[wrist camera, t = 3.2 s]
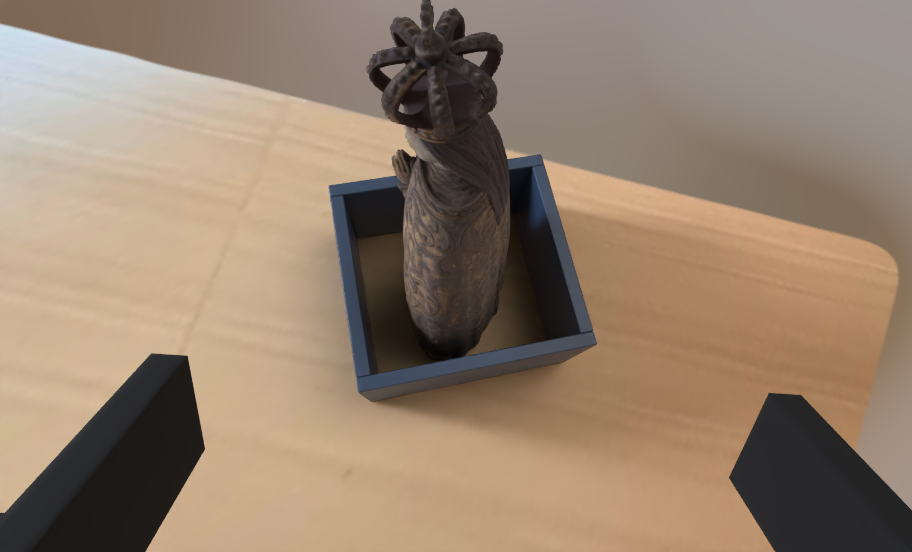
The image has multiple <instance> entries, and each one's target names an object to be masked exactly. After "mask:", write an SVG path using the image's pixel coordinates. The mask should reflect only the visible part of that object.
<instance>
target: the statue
mask: <svg viewBox="0 0 912 552" xmlns="http://www.w3.org/2000/svg"><path fill="white" fill-rule="evenodd" d="M433 18H434V12H433V6H432V5H431V2H430V0H422V4H421V13H420V19H421V21H422V28H421V29H420V28H419V27H418V26H417V25H416V24H415V22H414V21H412V20H411V19H410V18H407V17H403V18H399V17H397V18H395V19H394V20H393V23H392V24H391V26H390V30H391V35H392V37H393V40H394V42H395V45H396V47H393V48H391V49H386V50H381V51H379V52H377V53H376V54H373V57H372V58H371V59H370V61H369V65H368V66H367V67H366V70H367V73H368V74H369V78H370V80H371V82H373V84H374V85H375V86H376V87H377V88H378V89H379V90H381V91H382V92H383V95H382V98H381V106H382V108H383V110H384V111H385V116H386V117H387V118H388V119H390V120H391V121H392V122H396V123H397V124H401V125H402V124H403V125H405V137H406V138H407V141H408V143H409V145H410V147H411V148H413V149H414V150H415V153H416V157H411V156H410V155H409V154H407V153H406V152H405V151H404V150H397V152H396V155H394V156H392V165H393V167H394V171H395V174H396V176H397V177H398V179H399V180H400V181H401V182H399V183H398V188H399V189H400V191H402V192H403V195H404V197H405V207H404V222H403V243H404V282H405V292H406V300H407V303H408V304H407V305H408V308H409V312H410V316H411V319H412V323H413V328H414V330H415V335H416V338H417V340H418V342H419V344H420V346H421V348H423V349H425V350H427V351H428V352H429V353H430V354H431V356H432V357H433V358H434V359H436V360H440V361H445V360H449V359H455V358H460V357H464V356H465V355H466V353H467V352H468V351H469V350H470V349H472V348H474V347H475V346H476V345H477V344H478V342H479V340H480V337H481V334H482V332H483V331H484V330H485V329H486V327H487V326H488V324H489V322H490V320H491V318H492V316H494V315H495V314H496V313H497V309H498V304H499V297H500V291H501V288H502V283H503V278H504V272H505V267H506V257H507V252H508V245H509V234H510V198H509V197H510V195H509V188H510V187H509V184H510V180H509V166H508V160H507V156H506V153H505V148H504V146H503V142H502V138H501V136H500V133H499V131H498V129H497V127H496V125H495V124H494V122H493V120H492V119H491V117H490V116H489V114H488V112H491V111H492V110H493V108H494V107H495V105H496V103H497V101H496V97H497V88H496V85H495V83H494V81H493V80H492V76H493V74H494V73H495V72H496V70H497V68H498V66H499V64H500V61H501V58H500V56H501V55H502V54H503V49H502V47H503V45H502V43H501V42H499V41H498V38H497V37H496V35H494V34H490V33H486V32H482V33H476V34H471V35H469V36H467V37H465V34H464V33H465V24H464V18H463V17H462V15H461V14H460V13H459V12H458V11H457V9H455V8H454V9H449V10H448V11H444V12H443V13H442V15H441V17H440V19H439V21H438V22H437V25H436V27H435V30H434V29H433V22H434V20H433ZM479 51H481V52H482V51H488V53H487V55H486V58H485V59H484V61H483V62H482V64H481V65H480V67H478V66H477V65H475V64H473V63H471V62H470V61H468V60H466V59H464V58H463V54H468V53H473V52H479ZM402 63H405V64H406V66H405V67H404V68H403V69H402V70H401V71H400V72H399V73H398V74H397V75H396V76H395V77H394V78H393V79H392V80H391V79H390V78H388V77H387V76H386V75H385V74H384V73H383V72H382V71H381V70H380V69H379V68H381V67H385V66H389V65H394V64H402ZM481 95H482V97H483V99H482V97H481ZM400 103H401V104H402V105H403V106H404V113H401V112H399V111H398V109H399V105H400Z"/></svg>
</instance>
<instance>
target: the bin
mask: <svg viewBox="0 0 912 552" xmlns="http://www.w3.org/2000/svg"><path fill="white" fill-rule="evenodd" d="M507 160H508V166H509V180H510V184H509V187H510V188H509V195H510V197H509V198H510V214H512V213H513V215H514V219H515V222H516V226H517V230H518V234H519V238H520V241H521V245H522V249H523V253H524V256H525V260H526V264H527V268H528V272H529V275H530V279H531V283H532V287H533V290H534V294H535V298H536V302H537V306H538V309H539V313H540V317H541V321H542V324H543V328H544V332H545V336H546V339H547V340H546V341H541V342H536V343H531V344H526V345H521V346H516V347H511V348H505V349H500V350H495V351H490V352H485V353H480V354H475V355H470V356H465V357H460V358H455V359H450V360H445V361H440V362H435V363H430V364H425V365H420V366H415V367H410V368H405V369H400V370H395V371H390V372H384V373H379V374H378V368H377V362H376V356H375V350H374V343H373V337H372V331H371V324H370V318H369V312H368V305H367V299H366V293H365V286H364V280H363V274H362V267H361V261H360V255H359V248H358V242H357V239H358V238H364V237H370V236H376V235H382V234H389V233H395V232H401V231H403V222H404V207H405V197H404V195H403V192H402V191H400V189H399V188H398V183H399V182H401V181H400V180H399V179H398V177H397V176H391V177H384V178H377V179H371V180H364V181H357V182H350V183H343V184H337V185H330V186H329V193H330V201H331V207H332V214H333V221H334V228H335V235H336V242H337V249H338V256H339V263H340V270H341V277H342V284H343V290H344V297H345V304H346V311H347V318H348V325H349V332H350V339H351V346H352V353H353V360H354V367H355V373H356V378H357V379H356V380H357V387H358V392H359V393H360V394H361V395H363V396H364V397H365V398H367V399H368V400H369V401H371V402H373V401H378V400H383V399H388V398H393V397H398V396H402V395H407V394H412V393H417V392H422V391H427V390H432V389H437V388H441V387H446V386H451V385H456V384H461V383H466V382H471V381H475V380H480V379H485V378H490V377H495V376H500V375H505V374H510V373H514V372H519V371H524V370H529V369H534V368H539V367H544V366H549V365H553V364H558V363H563V362H565V361H567V360H569V359H570V358H572V357H574V356H576V355H578V354H580V353H582V352H584V351H585V350H587V349H589V348H591V347H593V346H595V345H596V344H597V342H596V339H595V335H594V332H592V331H593V328H592V325H591V322H590V318H589V315H588V311H587V308H586V305H585V301H584V298H583V294H582V291H581V288H580V284H579V281H578V277H577V274H576V271H575V267H574V264H573V261H572V257H571V254H570V250H569V247H568V244H567V240H566V237H565V233H564V230H563V227H562V223H561V220H560V217H559V213H558V210H557V206H556V203H555V200H554V196H553V193H552V189H551V186H550V183H549V179H548V176H547V172H546V169H545V166H544V163H543V160H542V156H541V155H534V156H527V157H520V158H513V159H507Z"/></svg>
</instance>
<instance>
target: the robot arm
mask: <svg viewBox="0 0 912 552" xmlns="http://www.w3.org/2000/svg"><path fill="white" fill-rule="evenodd" d="M204 450H205V446H204V441H203V436H202V430H201V425H200V420H199V414H198V409H197V404H196V398H195V393H194V388H193V382H192V377H191V372H190V366H189V361H188V356H182V355H166V354H150V356H149V357H148V358H147V359H146V360H145V361H144V362H143V363H142V364H141V365H140V366H139V368H138V369H137V370H136V371H135V372H134V373H133V374H132V375H131V376H130V377H129V378H128V380H127V381H126V382H125V383H124V384H123V385H122V386H121V387H120V388H119V389H118V390H117V391H116V393H115V394H114V395H113V396H112V397H111V398H110V399H109V400H108V401H107V402H106V403H105V405H104V406H103V407H102V408H101V409H100V410H99V411H98V412H97V413H96V414H95V415H94V417H93V418H92V419H91V420H90V421H89V422H88V423H87V424H86V425H85V426H84V427H83V428H82V430H81V431H80V432H79V433H78V434H77V435H76V436H75V437H74V438H73V439H72V440H71V442H70V443H69V444H68V445H67V446H66V447H65V448H64V449H63V450H62V451H61V452H60V454H59V455H58V456H57V457H56V458H55V459H54V460H53V461H52V462H51V463H50V464H49V465H48V467H47V468H46V469H45V470H44V471H43V472H42V473H41V474H40V475H39V476H38V477H37V479H36V480H35V481H34V482H33V483H32V484H31V485H30V486H29V487H28V488H27V489H26V491H25V492H24V493H23V494H22V495H21V496H20V497H19V498H18V499H17V500H16V501H15V502H14V504H13V505H12V506H11V507H10V508H9V509H8V510H7V511H6V512H5V513H0V552H145V551H146V550H147V548H148V546H149V544H150V543H151V541H152V539H153V538H154V536H155V534H156V532H157V531H158V529H159V527H160V526H161V524H162V522H163V520H164V519H165V517H166V515H167V513H168V512H169V510H170V508H171V507H172V505H173V503H174V501H175V500H176V498H177V496H178V495H179V493H180V491H181V489H182V488H183V486H184V484H185V483H186V481H187V479H188V477H189V476H190V474H191V472H192V471H193V469H194V467H195V465H196V464H197V462H198V460H199V458H200V457H201V455H202V453H203V452H204ZM729 478H730V480H731V482H732V483H733V485H734V486H735V488H736V490H737V491H738V493H739V494H740V496H741V498H742V499H743V501H744V502H745V504H746V506H747V507H748V509H749V510H750V512H751V514H752V515H753V517H754V518H755V520H756V522H757V523H758V525H759V526H760V528H761V530H762V531H763V533H764V534H765V536H766V538H767V539H768V541H769V542H770V544H771V546H772V547H773V549H774V550H775V552H912V510H911V509H910V508H909V507H908V506H907V505H906V504H905V503H904V502H903V501H902V500H901V499H900V498H899V497H898V496H897V494H895V492H893V490H892V489H891V488H890V487H889V486H888V485H887V484H886V483H885V482H884V481H883V480H882V479H881V478H880V477H879V476H878V475H877V474H876V473H875V472H874V471H873V470H872V469H871V468H870V467H869V465H867V463H866V462H865V461H864V460H863V459H862V458H861V457H860V456H859V455H858V454H857V453H856V452H855V451H854V450H853V449H852V448H851V447H850V446H849V445H848V444H847V443H846V441H845V440H844V439H843V438H842V437H841V436H840V435H839V434H838V433H837V432H836V431H835V430H834V429H833V428H832V427H831V426H830V425H829V424H828V423H827V422H826V421H825V420H824V419H823V418H822V417H821V416H820V414H819V413H818V412H817V411H816V410H815V409H814V408H813V407H812V406H811V405H810V404H809V403H808V402H807V401H806V400H805V399H804V398H803V397H802V396H801V395H792V394H776V393H769V394H768V396H767V398H766V400H765V403H764V405H763V407H762V409H761V411H760V413H759V415H758V417H757V419H756V422H755V424H754V426H753V428H752V430H751V432H750V434H749V436H748V439H747V441H746V443H745V445H744V447H743V449H742V451H741V453H740V455H739V458H738V460H737V462H736V464H735V466H734V468H733V470H732V472H731V475H730V477H729Z"/></svg>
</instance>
